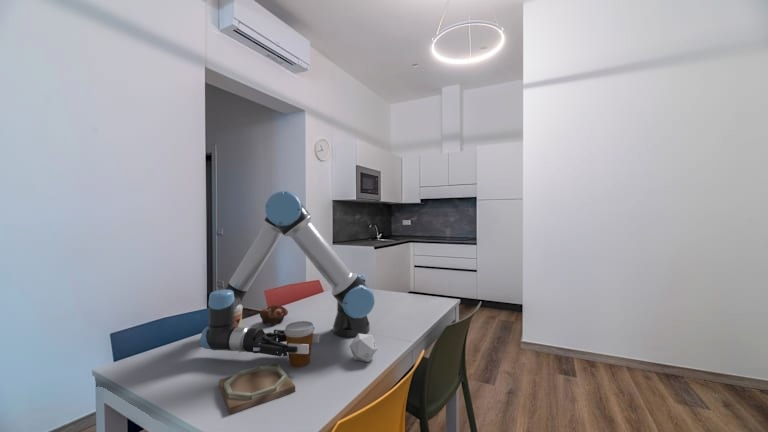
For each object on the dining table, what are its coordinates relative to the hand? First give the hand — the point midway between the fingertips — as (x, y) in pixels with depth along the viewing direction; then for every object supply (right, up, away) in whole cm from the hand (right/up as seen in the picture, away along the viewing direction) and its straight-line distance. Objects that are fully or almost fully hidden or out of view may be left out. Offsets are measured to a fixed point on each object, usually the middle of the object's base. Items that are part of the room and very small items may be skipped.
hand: (313, 343), depth 98 cm
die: (+16, -7, +3) cm, 17 cm away
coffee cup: (-38, -7, +23) cm, 45 cm away
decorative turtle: (-27, -7, +39) cm, 48 cm away
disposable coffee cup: (-5, -7, +1) cm, 8 cm away
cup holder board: (-13, -7, -14) cm, 20 cm away
